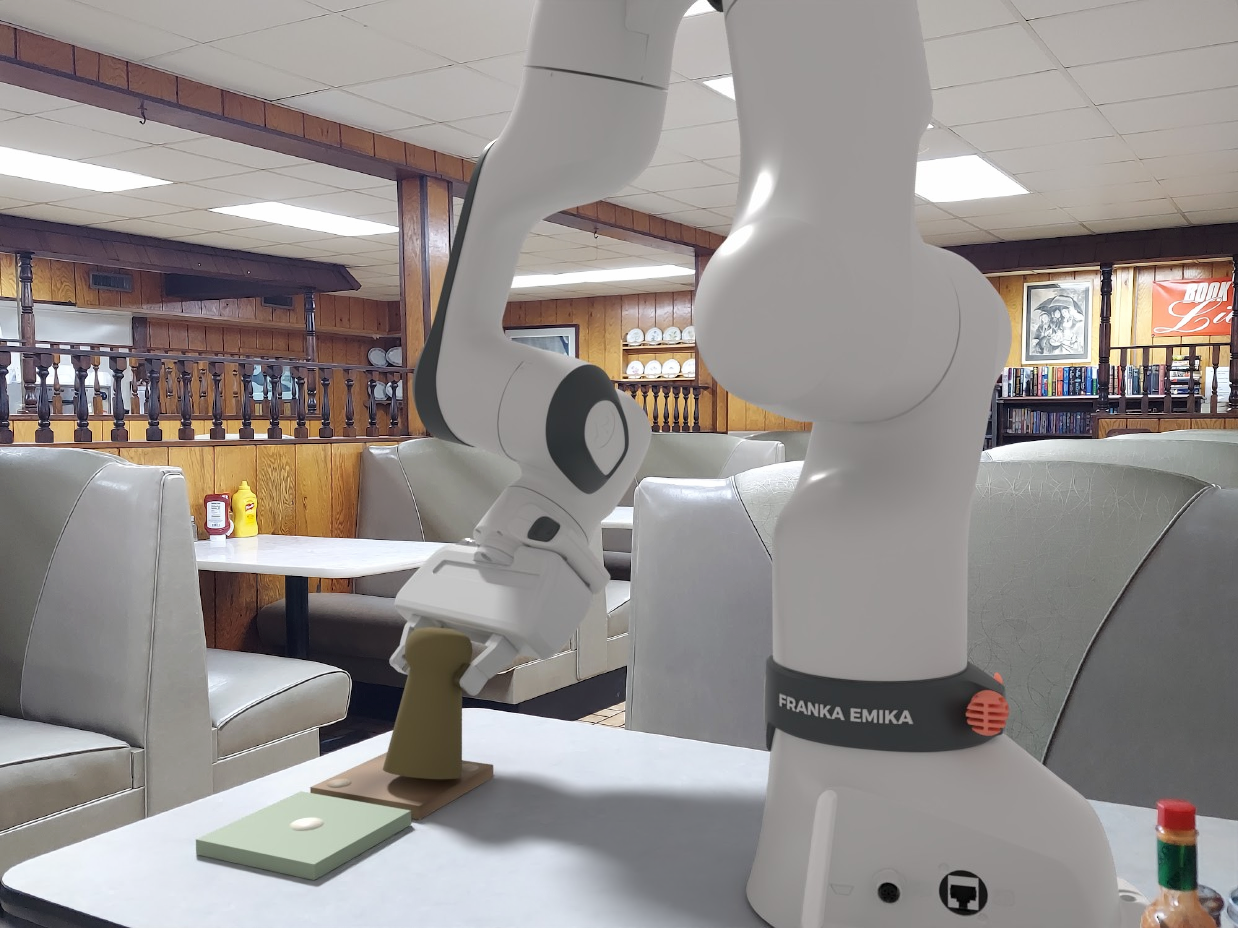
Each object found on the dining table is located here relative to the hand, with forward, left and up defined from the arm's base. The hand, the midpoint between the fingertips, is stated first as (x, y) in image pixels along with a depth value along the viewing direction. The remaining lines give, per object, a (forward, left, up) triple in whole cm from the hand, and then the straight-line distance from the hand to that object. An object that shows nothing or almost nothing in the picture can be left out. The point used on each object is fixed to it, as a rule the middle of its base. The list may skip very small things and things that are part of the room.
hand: (429, 679), depth 83 cm
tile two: (+1, +2, -8) cm, 8 cm away
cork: (-1, +3, -7) cm, 7 cm away
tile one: (+1, +13, -8) cm, 15 cm away
